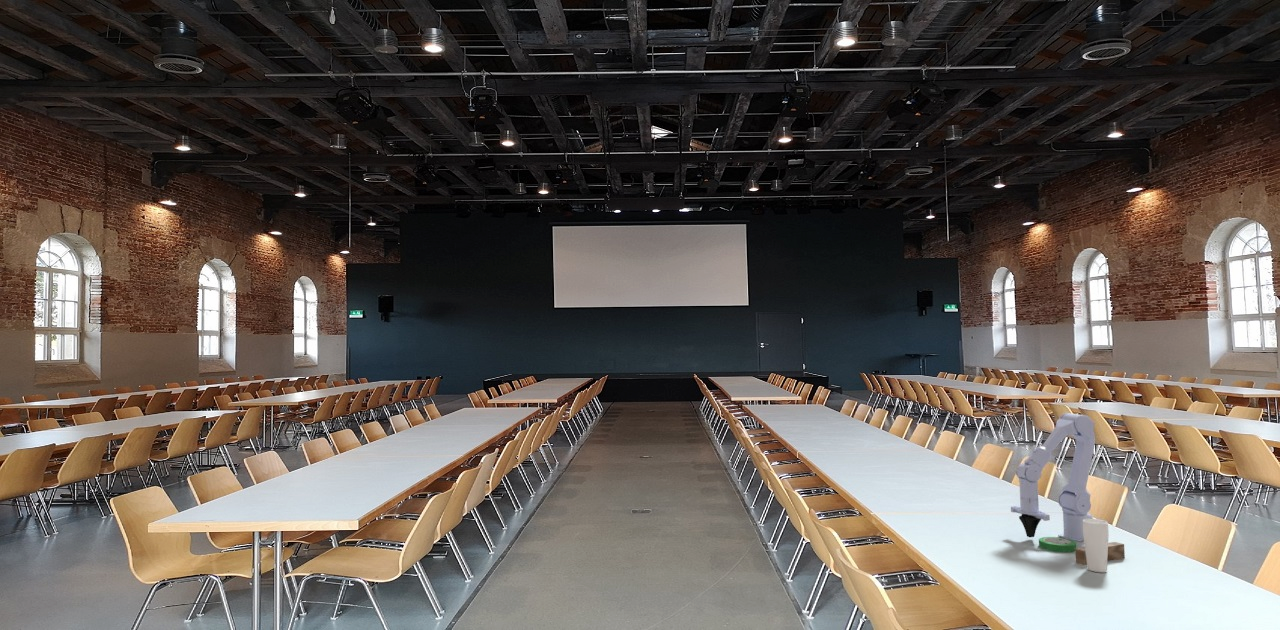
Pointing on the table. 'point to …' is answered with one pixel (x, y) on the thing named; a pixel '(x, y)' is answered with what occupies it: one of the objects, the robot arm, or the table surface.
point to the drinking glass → (1096, 544)
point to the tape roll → (1057, 544)
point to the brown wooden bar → (1113, 553)
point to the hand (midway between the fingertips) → (1030, 536)
